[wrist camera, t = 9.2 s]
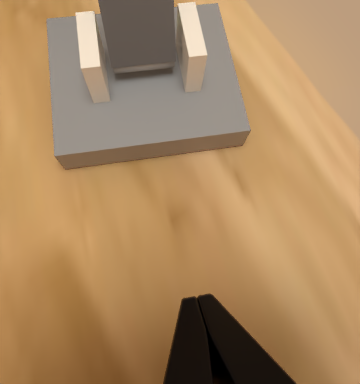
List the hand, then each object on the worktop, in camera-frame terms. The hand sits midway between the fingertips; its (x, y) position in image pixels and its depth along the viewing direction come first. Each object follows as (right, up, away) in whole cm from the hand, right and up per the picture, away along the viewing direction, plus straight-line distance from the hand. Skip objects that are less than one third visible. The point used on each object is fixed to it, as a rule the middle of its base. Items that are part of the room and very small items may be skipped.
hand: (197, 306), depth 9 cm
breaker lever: (-3, +13, +14) cm, 19 cm away
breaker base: (-3, +12, +18) cm, 21 cm away
